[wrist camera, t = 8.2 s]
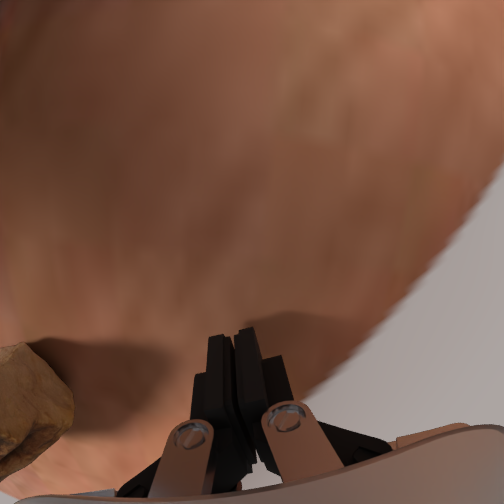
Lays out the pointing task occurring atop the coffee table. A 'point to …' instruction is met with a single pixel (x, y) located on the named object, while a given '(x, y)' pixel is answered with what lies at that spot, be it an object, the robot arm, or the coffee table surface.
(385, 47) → the coffee table surface
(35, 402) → the decorative rock
